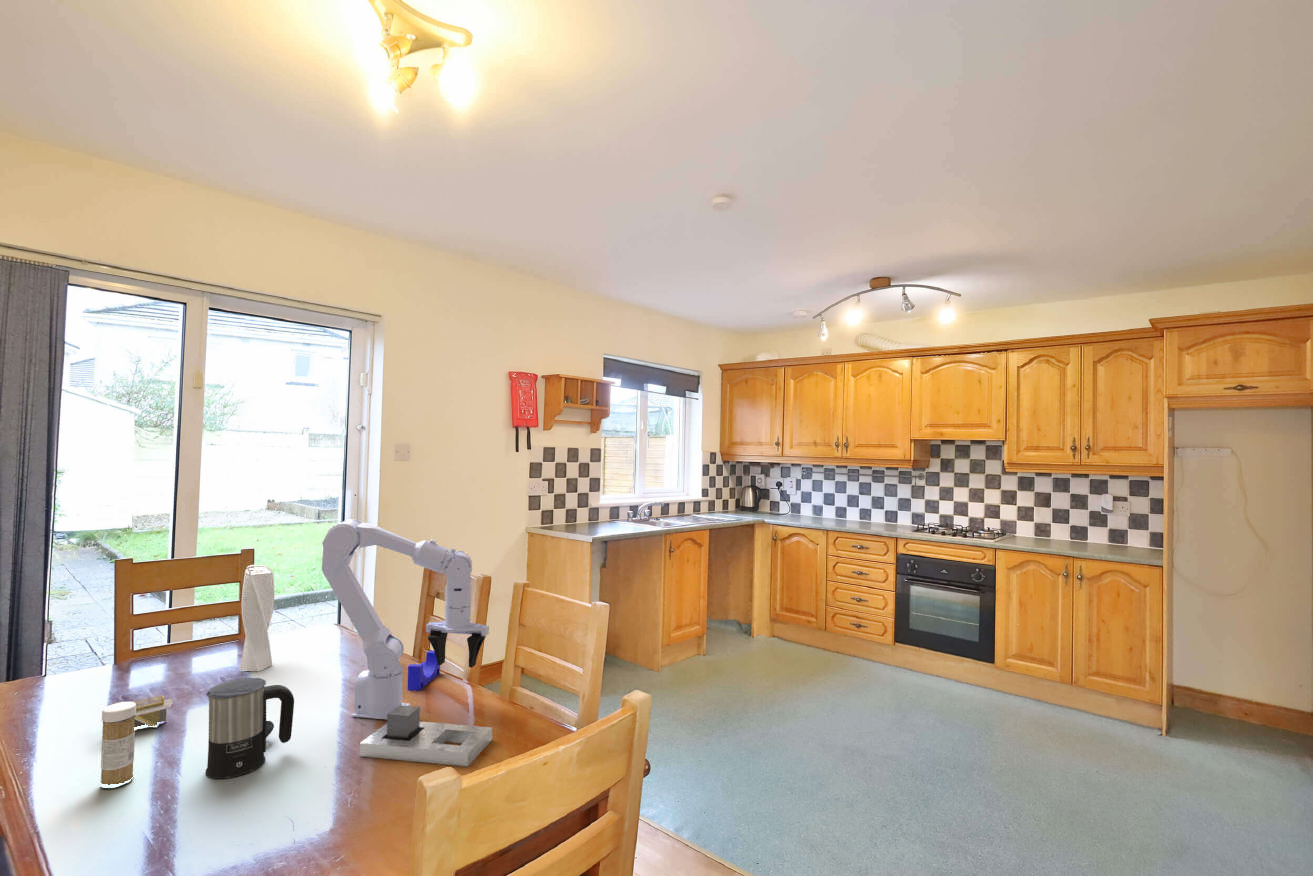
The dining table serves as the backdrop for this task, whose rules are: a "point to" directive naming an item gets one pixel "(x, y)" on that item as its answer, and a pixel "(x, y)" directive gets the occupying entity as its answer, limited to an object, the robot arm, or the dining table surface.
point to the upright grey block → (403, 723)
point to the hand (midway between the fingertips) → (456, 665)
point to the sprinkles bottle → (118, 743)
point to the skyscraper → (257, 617)
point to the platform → (151, 711)
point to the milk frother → (243, 725)
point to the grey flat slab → (430, 744)
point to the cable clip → (423, 672)
